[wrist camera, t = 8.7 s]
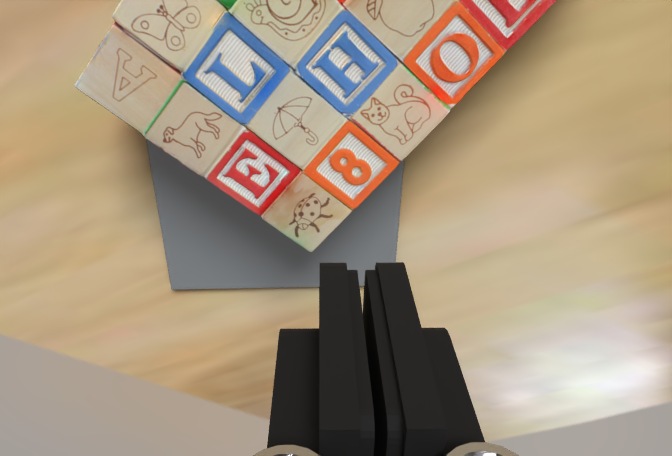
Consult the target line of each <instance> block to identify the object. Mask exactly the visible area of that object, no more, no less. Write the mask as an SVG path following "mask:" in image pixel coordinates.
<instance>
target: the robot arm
mask: <svg viewBox="0 0 672 456" xmlns="http://www.w3.org/2000/svg"><path fill="white" fill-rule="evenodd" d="M253 456H518V455H517V454H516V453H514V452H511V451H510V450H508V449H506V448H504V447H502V446H498V445H494V444H490V443H486V442H485V441H484V438H483V435H482V432H481V429H480V426H479V423H478V420H477V417H476V414H475V411H474V408H473V405H472V402H471V399H470V395H469V392H468V389H467V386H466V383H465V380H464V377H463V374H462V371H461V368H460V365H459V362H458V359H457V356H456V353H455V350H454V347H453V344H452V341H451V338H450V336H449V333H448V331H447V330H446V329H445V328H421V324H420V321H419V317H418V313H417V309H416V306H415V302H414V298H413V294H412V291H411V287H410V283H409V279H408V275H407V272H406V268H405V265H404V263H403V262H401V263H376V264H375V270H365V281H364V301H363V314H362V305H361V297H360V288H359V279H358V271H357V270H347V263H320V285H319V329H280V332H279V340H278V350H277V359H276V369H275V378H274V388H273V397H272V407H271V416H270V425H269V435H268V445H267V449H264V450H262V451H260V452H258V453H257V454H255V455H253Z"/></svg>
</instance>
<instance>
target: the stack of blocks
mask: <svg viewBox="0 0 672 456" xmlns="http://www.w3.org/2000/svg"><path fill="white" fill-rule="evenodd" d="M556 1H557V0H121V2H120V3H119V5H118V7H117V8H116V10H115V11H114V13H113V19H114V20H115V23H114V24H113V25H112V26H111V28H110V30H109V31H108V33H107V34H106V36H105V38H104V39H103V41H102V42H101V44H100V45H99V47H98V49H97V50H96V52H95V54H94V55H93V57H92V58H91V60H90V62H89V63H88V65H87V66H86V68H85V69H84V71H83V73H82V74H81V76H80V77H79V79H78V80H77V82H76V84H75V87H76V88H77V89H78V90H80V91H81V92H83V93H84V94H86V95H87V96H88V97H90V98H91V99H93V100H94V101H96V102H97V103H98V104H100V105H101V106H103V107H104V108H106V109H107V110H109V111H110V112H112V113H113V114H114V115H116V116H117V117H119V118H120V119H122V120H123V121H125V122H126V123H127V124H129V125H130V126H132V127H133V128H135V129H136V130H138V131H139V132H140V133H141V134H142V136H144V137H145V138H146V139H148V140H149V141H150V142H152V143H153V144H155V145H156V146H158V147H160V148H162V149H163V150H164V151H165V152H166V153H167V154H169V155H171V156H172V157H174V158H175V159H177V160H178V161H179V162H180V163H182V164H183V165H185V166H186V167H188V168H189V169H191V170H192V171H194V172H195V173H197V174H198V175H200V176H203V177H205V178H206V179H207V180H208V181H209V182H211V183H212V184H214V185H215V186H217V187H218V188H219V189H221V190H222V191H224V192H225V193H227V194H228V195H229V196H231V197H232V198H234V199H235V200H237V201H238V202H240V203H241V204H243V205H244V206H246V207H247V208H249V209H250V210H251V211H253V212H254V213H256V214H258V215H261V217H262V219H263V220H265V221H266V222H267V223H269V224H270V225H272V226H273V227H275V228H276V229H277V230H279V231H280V232H281V233H283V234H284V235H286V236H287V237H289V238H290V239H291V240H293V241H294V242H296V243H297V244H299V245H300V246H302V247H303V248H305V249H306V250H308V251H309V252H313V251H314V250H315V249H316V248H317V247H318V246H319V245H320V244H321V243H322V242H323V241H324V240H325V239H326V237H327V236H328V235H329V234H330V233H331V232H332V231H333V230H334V229H335V228H336V227H337V226H338V225H339V224H340V223H341V222H342V221H343V220H344V219H345V218H346V217H347V216H348V215H349V214H350V213H351V211H352V210H353V209H355V208H357V207H358V206H359V205H360V204H361V203H362V202H363V201H364V200H365V199H366V198H367V197H368V196H369V195H370V194H371V192H372V191H373V190H374V189H375V188H376V187H377V186H378V185H379V184H380V183H381V182H382V181H383V180H384V179H385V178H386V177H387V176H388V175H389V174H390V173H391V172H392V171H393V170H394V169H395V168H396V167H397V165H398V164H399V163H400V162H401V161H402V160H403V159H404V158H405V157H406V156H407V155H408V154H410V152H411V151H412V150H413V149H414V148H415V147H416V146H418V145H419V143H420V142H421V141H422V140H423V139H424V138H425V137H426V136H427V135H428V134H429V133H430V132H431V131H432V130H433V129H434V128H435V127H436V126H437V125H438V124H439V123H440V122H441V121H442V120H443V119H444V118H445V117H446V116H447V114H448V113H449V112H450V110H451V109H452V108H453V107H454V106H455V105H456V104H457V103H458V102H459V101H460V100H461V99H462V98H463V97H464V95H465V94H466V93H467V92H468V91H469V90H470V89H471V88H472V86H473V85H475V84H476V83H477V82H478V81H479V80H480V79H481V78H482V77H483V76H484V75H485V74H486V73H487V72H488V70H489V69H490V68H491V67H492V66H493V65H494V64H495V63H496V62H497V61H498V60H499V59H500V58H501V57H502V56H503V55H504V53H505V52H506V51H507V50H508V49H509V48H510V47H511V46H513V45H514V44H515V43H516V42H517V41H518V40H519V39H520V38H521V37H522V36H523V35H524V34H525V33H526V32H527V30H528V29H529V28H530V27H531V26H532V25H533V24H534V23H535V22H536V21H537V20H538V19H539V18H540V17H541V16H542V15H543V14H544V13H545V12H546V11H547V10H548V9H549V8H550V7H551V5H552V4H553V3H554V2H556Z"/></svg>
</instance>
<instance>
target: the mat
mask: <svg viewBox="0 0 672 456" xmlns="http://www.w3.org/2000/svg"><path fill="white" fill-rule="evenodd" d="M146 142H147V148H148V154H149V159H150V165H151V171H152V177H153V183H154V189H155V195H156V201H157V207H158V212H159V218H160V224H161V230H162V236H163V242H164V248H165V254H166V260H167V265H168V271H169V277H170V283H171V289H172V290H173V289H225V288H277V287H319V285H320V263H347V270H357V271H358V279H359V286H364V281H365V270H375V264H376V263H396V251H397V239H398V227H399V214H400V202H401V190H402V178H403V166H404V159H403V160H402V161H401V162H400V163H399V164H398V165H397V167H396V168H395V169H394V170H393V171H392V172H391V173H390V174H389V175H388V176H387V177H386V178H385V179H384V180H383V181H382V182H381V183H380V184H379V185H378V186H377V187H376V188H375V189H374V190H373V191H372V192H371V194H370V195H369V196H368V197H367V198H366V199H365V200H364V201H363V202H362V203H361V204H360V205H359V206H358V207H357V208H355V209H353V210H352V211H351V213H350V214H349V215H348V216H347V217H346V218H345V219H344V220H343V221H342V222H341V223H340V224H339V225H338V226H337V227H336V228H335V229H334V230H333V231H332V232H331V233H330V234H329V235H328V236H327V237H326V239H325V240H324V241H323V242H322V243H321V244H320V245H319V246H318V247H317V248H316V249H315V250H314V251H313V252H309V251H308V250H306V249H305V248H303V247H302V246H300V245H299V244H297V243H296V242H294V241H293V240H291V239H290V238H289V237H287V236H286V235H284V234H283V233H281V232H280V231H279V230H277V229H276V228H275V227H273V226H272V225H270V224H269V223H267V222H266V221H265V220H263V219H262V217H261V215H258V214H256V213H254V212H253V211H251V210H250V209H249V208H247V207H246V206H244V205H243V204H241V203H240V202H238V201H237V200H235V199H234V198H232V197H231V196H229V195H228V194H227V193H225V192H224V191H222V190H221V189H219V188H218V187H217V186H215V185H214V184H212V183H211V182H209V181H208V180H207V179H206V178H205V177H203V176H200V175H198V174H197V173H195V172H194V171H192V170H191V169H189V168H188V167H186V166H185V165H183V164H182V163H180V162H179V161H178V160H177V159H175V158H174V157H172V156H171V155H169V154H167V153H166V152H165V151H164V150H163V149H162V148H160V147H158V146H156V145H155V144H153V143H152V142H150V141H149V140H148V139H146Z"/></svg>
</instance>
